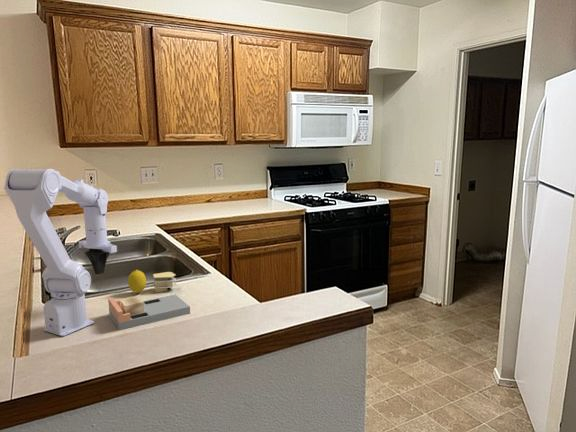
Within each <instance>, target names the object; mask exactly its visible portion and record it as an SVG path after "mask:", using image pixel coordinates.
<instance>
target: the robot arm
mask: <svg viewBox="0 0 576 432" xmlns="http://www.w3.org/2000/svg"><path fill="white" fill-rule="evenodd" d="M3 188H4V191H5V192H6V194H7V196H8V197H9V199H10V201H11V202H12V205H13V207H14V209H15V213H16V215H17V219H18V220H19V222H20V224H21V225H22V227H23V228H24V231H25V232H26V234H27V235H28V237H29V239H30V240H31V242H32V244H33V246H34V248H35V249H36V251H37V252H38V254H39V256H40V258H41V259H42V261H43V263H44V265H45V266H46V267H45V269H44V270H43V272H42V274H41V278H42V279H43V282H44V289H45V290H46V292H48V294H50V297H52V298H51V299H50V300H48V301H45V302H44V305H43V316H44V325H45V327H44V328H43V330H44V331H46V332H48V333H50V334H54V335H57V336H60V337H65V336H67V335H69V334H72V333H74V332H77V331H80V330H82V329H83V328H84V329H85V328H86V327H88V326H91V325H93V324H95V321H94V320H92V319H88V318H87V307H86V305H87V304H86V297H85V294H86V293H87V292H89V291H88V290H89V289H90V287H91V284H92V277H91V274H90V272H89V270H86V269H85V268H84V267H83V265H82V264H81V263H79V262H77V261H74V260H72V259H71V258H70V256H69V254H68V251H67V250H66V248H65V246H64V244H63V243H62V241H61V239H60V236H59V235H58V232H57V231H56V229H55V228H54V225H53V223H52V222H51V220H50V218H49V216H48V214H47V211H49V210H51V209H52V208H53V206H54V203H55V201H56V198H57V196H58V193H59V192H60V193H62V194H64V195H65V197H66V198H67V199H68V200H69V201H72V202H75V203H77V204H78V206H79V207H80V208H81V209H83V219H84V230H85V231H84V233H85V239H83V240H80V241H78V248H79V249H82V248H84V249H88V251H85V252H84V255H86V257H87V258H88V260H89V262H90V263H91V264H90V265H91V266H92V269H93V271H94V274H95V275H102V274H104V273H105V268H106V263H107V261H108V257H109V255H110V254H115V253H118V246H117V245H115V244H113V243H111V241H110V240H108V230H107V219H106V214H107V211H108V203H109V196H108V193H107V191H105V190H104V189H103V188H95V187H93V185H92V184H87V183H85V182H84V180H83V179H82V178H81V179H74V180H70V179H68V178H67V177H64V176H63V175H61V173H60V171H58V170H55V169H53V168H45V169H41V168H40V169H39V168H37V169H34V168H33V169H32V168H30V169H28V168H27V169H23V168H11V170H10V171H8V173H7V175H6V178H5V183H4V187H3Z"/></svg>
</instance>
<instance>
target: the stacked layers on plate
mask: <svg viewBox="0 0 576 432" xmlns="http://www.w3.org/2000/svg"><path fill="white" fill-rule="evenodd" d="M152 276H153V282H154V283H153V286H154V289H155V292H156V293H159V292H160V293H161V292H168V289H171V290H172V289H173V288H174V287H176V286H177V284H176V280H177V278H176V277H175V276H176V273H174V272H172V271H165V272H159V273H153V274H152Z"/></svg>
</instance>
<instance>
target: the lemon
mask: <svg viewBox="0 0 576 432" xmlns="http://www.w3.org/2000/svg"><path fill="white" fill-rule="evenodd" d="M127 281H128V282H127V285H128V287H129V289H130V291H131V292H134V293H135V294H140V293H141V292H142V291H143V290H145V288H146V286H147V277H146V276H145V273H144V272H143V271H142V270H139V269H135V270H133V271H131V273H129V275H128V279H127Z"/></svg>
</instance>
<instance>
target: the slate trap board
mask: <svg viewBox="0 0 576 432" xmlns="http://www.w3.org/2000/svg"><path fill="white" fill-rule="evenodd" d="M142 301H143V302H144V313H139V314H135V315H130V317H131V320H130V321H125V322H121V323H119V322H118V321H117V319H116V318H115V317H114V315H113V314H112V312H111V311H110V309H109V308H108V314H109V316H110V318H111V319H112V321H113V322H114V323H113V324H115V326H116V327H117V329H118V330H119V331H122V330H126V329H129V328H130V329H131V328H134V327H138V326H143V325H146V324H147V325H148V324H151V323H154V322H156V323H157V322H159V321H164V320H167V319H172V318H175V317H180V316H181V317H182V316H185V315H188V314H191V307H190V305H188V304H187V302H185V301H184V300H183V299H181V298H180V296H178V295H177V294H171V295H167V296H162V297H157V298H156V297H155V298H152V299H146V300H142ZM120 308H121V307H120Z"/></svg>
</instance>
